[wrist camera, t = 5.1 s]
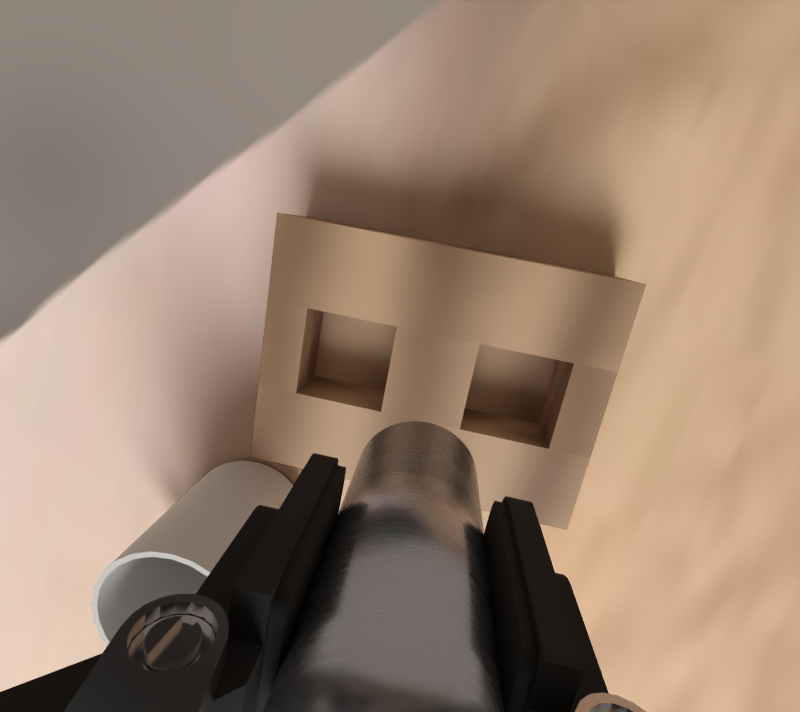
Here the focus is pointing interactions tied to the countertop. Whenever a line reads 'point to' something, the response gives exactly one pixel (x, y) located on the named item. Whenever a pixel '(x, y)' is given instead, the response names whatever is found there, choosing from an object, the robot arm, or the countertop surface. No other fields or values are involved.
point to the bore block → (439, 356)
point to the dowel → (399, 590)
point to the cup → (185, 541)
